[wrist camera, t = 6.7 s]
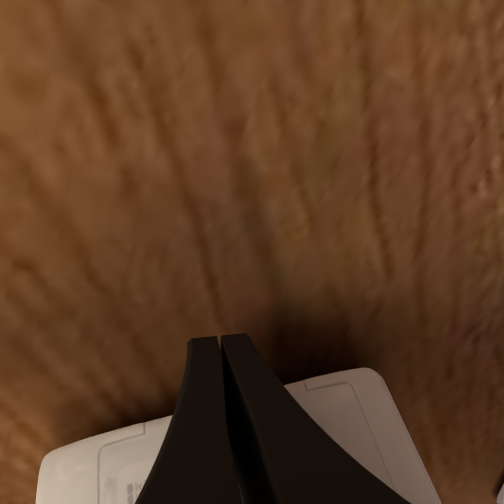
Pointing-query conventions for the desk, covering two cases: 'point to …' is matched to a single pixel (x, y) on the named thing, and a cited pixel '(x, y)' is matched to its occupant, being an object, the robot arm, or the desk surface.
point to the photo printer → (147, 448)
